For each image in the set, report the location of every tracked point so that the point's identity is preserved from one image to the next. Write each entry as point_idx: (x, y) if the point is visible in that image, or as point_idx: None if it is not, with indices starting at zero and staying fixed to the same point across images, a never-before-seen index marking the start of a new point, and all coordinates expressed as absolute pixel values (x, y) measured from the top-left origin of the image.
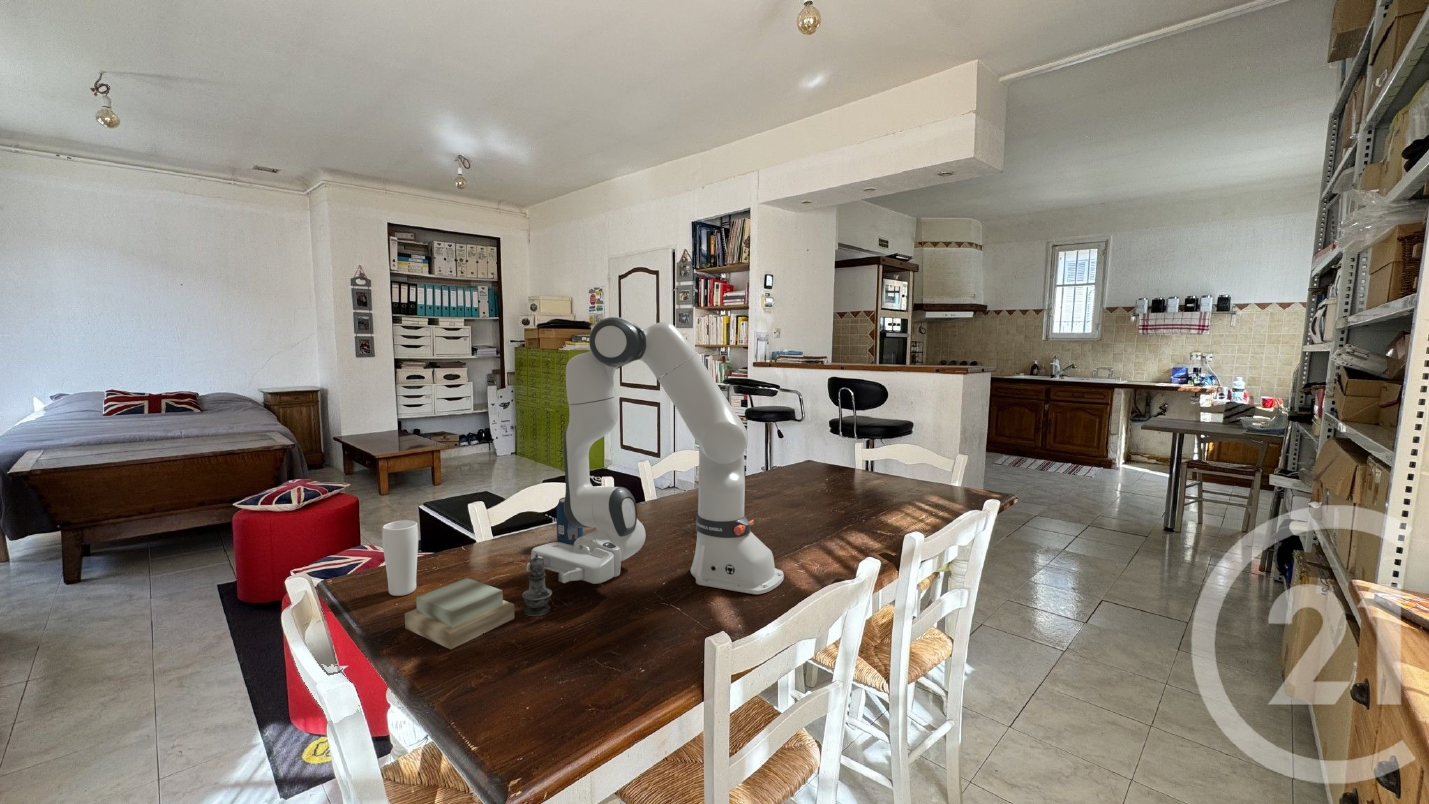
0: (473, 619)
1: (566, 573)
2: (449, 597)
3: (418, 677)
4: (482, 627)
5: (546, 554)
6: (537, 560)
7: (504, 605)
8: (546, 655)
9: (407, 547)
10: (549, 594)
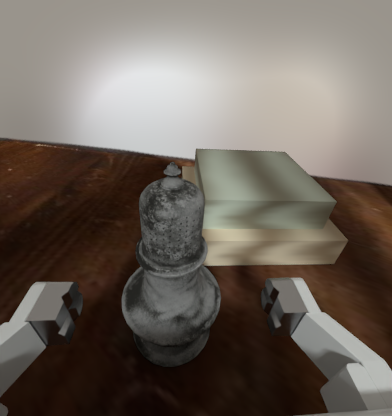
0: None
1: (26, 300)
2: (250, 162)
3: (160, 161)
4: None
5: (365, 413)
6: (156, 181)
7: None
8: (32, 221)
9: None
10: (126, 307)
